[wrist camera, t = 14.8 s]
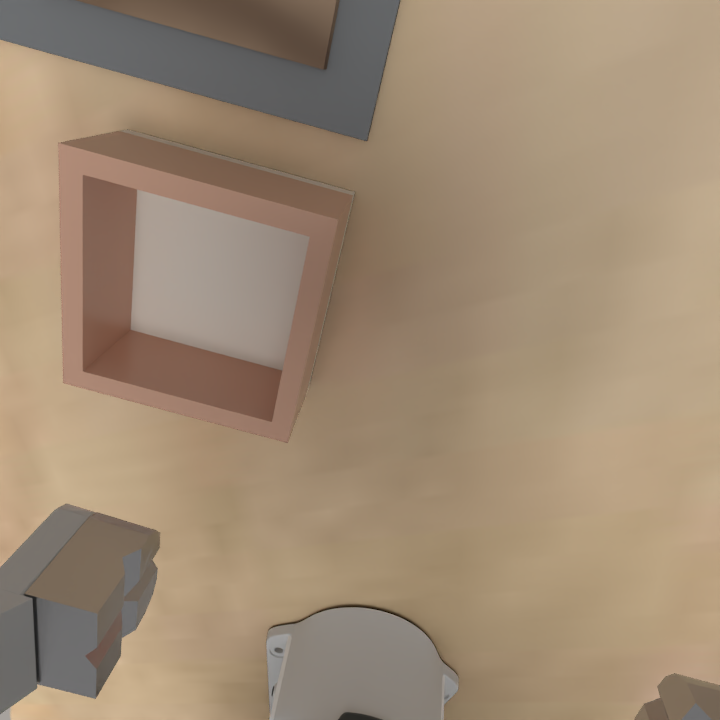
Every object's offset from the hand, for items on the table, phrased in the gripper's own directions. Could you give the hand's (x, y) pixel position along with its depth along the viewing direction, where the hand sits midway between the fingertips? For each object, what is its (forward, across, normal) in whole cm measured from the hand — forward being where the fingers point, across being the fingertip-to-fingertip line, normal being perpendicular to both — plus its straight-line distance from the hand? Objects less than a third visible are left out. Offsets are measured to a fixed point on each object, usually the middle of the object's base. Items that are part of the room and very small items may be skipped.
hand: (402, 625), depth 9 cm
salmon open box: (+28, +12, +6) cm, 31 cm away
